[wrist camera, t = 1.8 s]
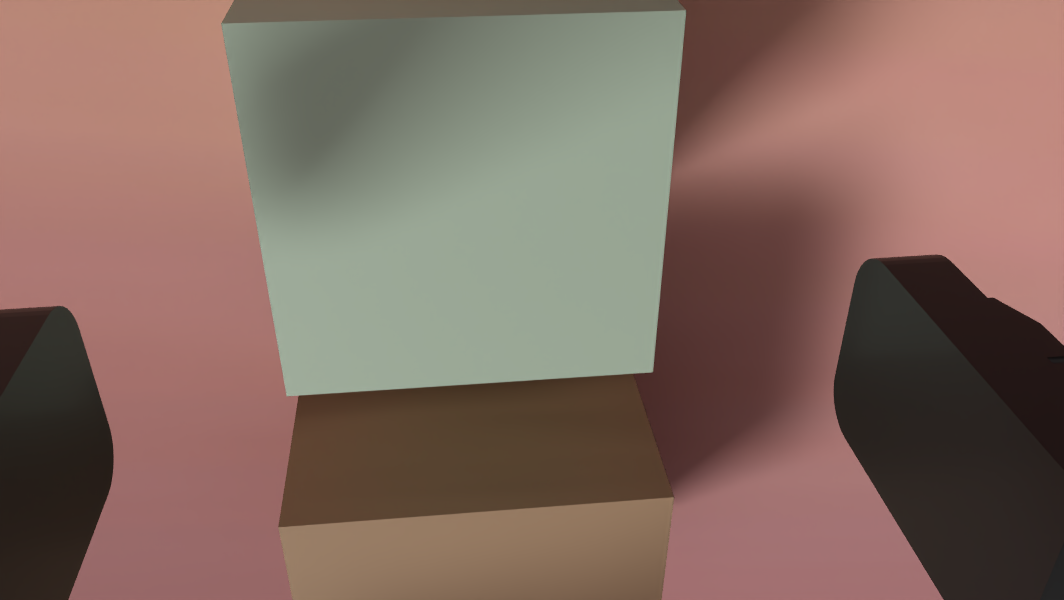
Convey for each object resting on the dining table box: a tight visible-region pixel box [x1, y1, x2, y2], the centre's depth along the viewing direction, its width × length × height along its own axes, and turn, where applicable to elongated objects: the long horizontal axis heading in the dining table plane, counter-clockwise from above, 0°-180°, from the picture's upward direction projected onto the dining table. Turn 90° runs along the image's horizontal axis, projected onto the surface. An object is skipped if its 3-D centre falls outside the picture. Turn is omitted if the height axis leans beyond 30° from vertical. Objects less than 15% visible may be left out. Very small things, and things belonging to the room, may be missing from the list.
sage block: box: [221, 0, 686, 396], centre depth 14 cm, size 5×5×5 cm
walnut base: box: [278, 374, 674, 600], centre depth 18 cm, size 6×6×5 cm
